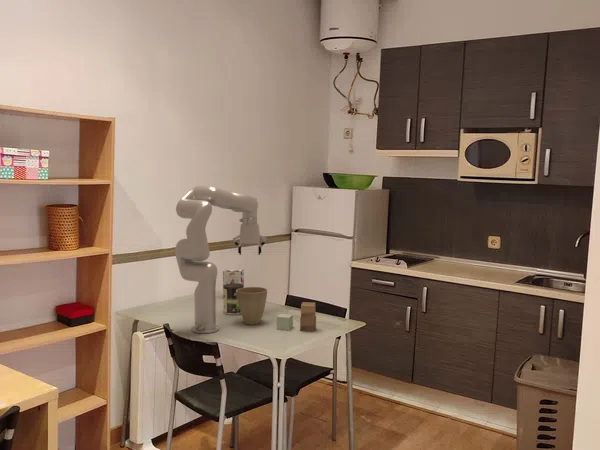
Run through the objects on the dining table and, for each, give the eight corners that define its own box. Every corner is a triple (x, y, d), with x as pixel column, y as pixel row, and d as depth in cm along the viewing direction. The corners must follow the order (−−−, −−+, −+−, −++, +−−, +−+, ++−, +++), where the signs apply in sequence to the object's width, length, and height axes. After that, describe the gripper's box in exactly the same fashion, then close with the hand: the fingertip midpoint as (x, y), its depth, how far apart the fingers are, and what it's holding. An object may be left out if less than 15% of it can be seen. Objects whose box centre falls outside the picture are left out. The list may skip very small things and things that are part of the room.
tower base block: (312, 331, 269) (312, 318, 269) (300, 330, 271) (300, 317, 270) (316, 328, 275) (316, 315, 275) (303, 327, 277) (303, 314, 276)
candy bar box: (244, 297, 338) (244, 269, 336) (242, 299, 333) (241, 270, 331) (225, 296, 340) (225, 268, 338) (222, 298, 335) (222, 270, 333)
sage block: (289, 330, 271) (289, 317, 271) (276, 329, 273) (276, 316, 272) (292, 327, 277) (292, 314, 277) (280, 326, 279) (280, 313, 278)
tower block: (314, 318, 269) (314, 305, 269) (300, 318, 270) (300, 305, 269) (315, 315, 275) (315, 302, 275) (302, 314, 276) (302, 302, 275)
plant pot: (265, 317, 293) (265, 286, 292) (269, 325, 279) (269, 292, 277) (235, 319, 291) (235, 287, 289) (237, 327, 276) (237, 293, 275)
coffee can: (247, 311, 305) (247, 284, 304) (233, 315, 297) (233, 288, 296) (233, 308, 312) (232, 282, 310) (219, 312, 303) (218, 285, 302)
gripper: (232, 221, 297) (232, 255, 298) (267, 221, 298) (266, 255, 300) (232, 220, 304) (232, 253, 306) (266, 220, 306) (266, 253, 307)
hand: (249, 254), depth 303 cm, fingers open, 9 cm apart
